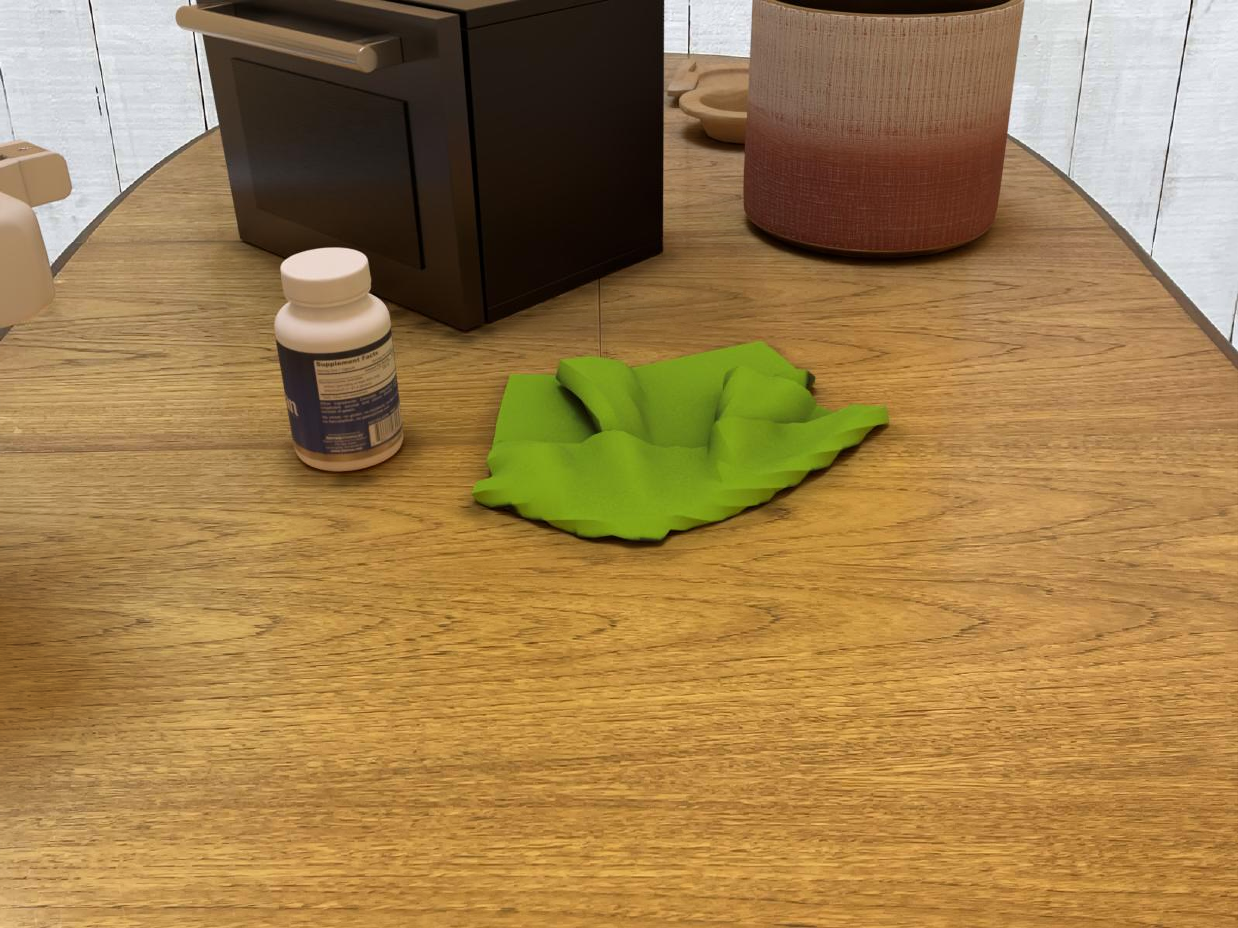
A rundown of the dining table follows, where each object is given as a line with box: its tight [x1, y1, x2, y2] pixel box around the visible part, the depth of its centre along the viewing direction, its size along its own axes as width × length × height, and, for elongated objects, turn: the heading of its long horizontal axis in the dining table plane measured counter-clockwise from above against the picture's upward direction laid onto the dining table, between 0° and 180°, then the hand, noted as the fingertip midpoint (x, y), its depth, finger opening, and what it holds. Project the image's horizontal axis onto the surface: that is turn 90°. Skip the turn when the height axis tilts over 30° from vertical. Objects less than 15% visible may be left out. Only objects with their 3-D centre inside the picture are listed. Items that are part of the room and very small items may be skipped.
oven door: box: [174, 0, 486, 331], centre depth 76 cm, size 5×24×18 cm, turn 47°
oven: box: [382, 0, 665, 324], centre depth 83 cm, size 16×24×18 cm, turn 47°
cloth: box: [470, 340, 890, 542], centre depth 63 cm, size 20×22×2 cm
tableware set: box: [666, 58, 750, 145], centre depth 116 cm, size 35×29×4 cm
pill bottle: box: [273, 248, 404, 472], centre depth 60 cm, size 5×5×10 cm
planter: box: [742, 0, 1026, 259], centre depth 86 cm, size 18×18×16 cm
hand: (52, 166), depth 49 cm, fingers closed
